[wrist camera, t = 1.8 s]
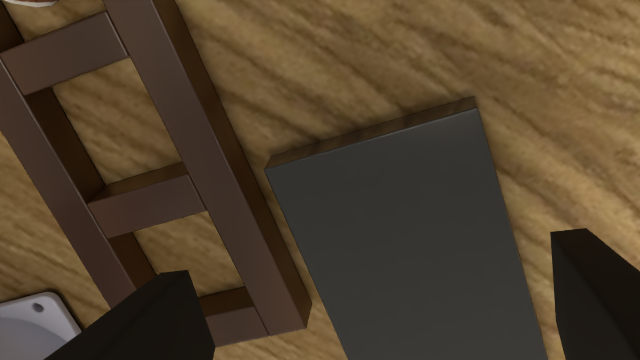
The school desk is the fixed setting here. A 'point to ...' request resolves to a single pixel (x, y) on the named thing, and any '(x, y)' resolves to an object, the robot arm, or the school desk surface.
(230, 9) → the school desk surface
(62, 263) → the school desk surface
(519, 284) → the board
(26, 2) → the chocolate
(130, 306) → the robot arm
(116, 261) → the rack
